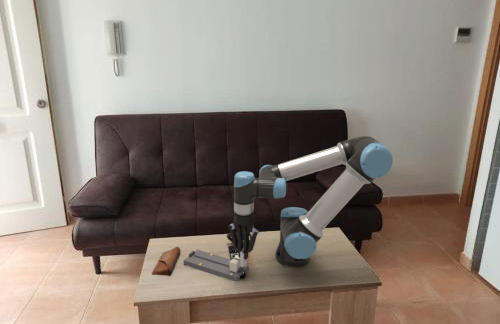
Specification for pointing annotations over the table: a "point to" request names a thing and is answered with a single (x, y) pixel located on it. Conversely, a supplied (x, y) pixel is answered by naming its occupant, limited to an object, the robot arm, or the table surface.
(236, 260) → the fader
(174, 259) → the sunglasses case
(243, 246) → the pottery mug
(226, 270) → the grey slotted slider track
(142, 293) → the table surface
